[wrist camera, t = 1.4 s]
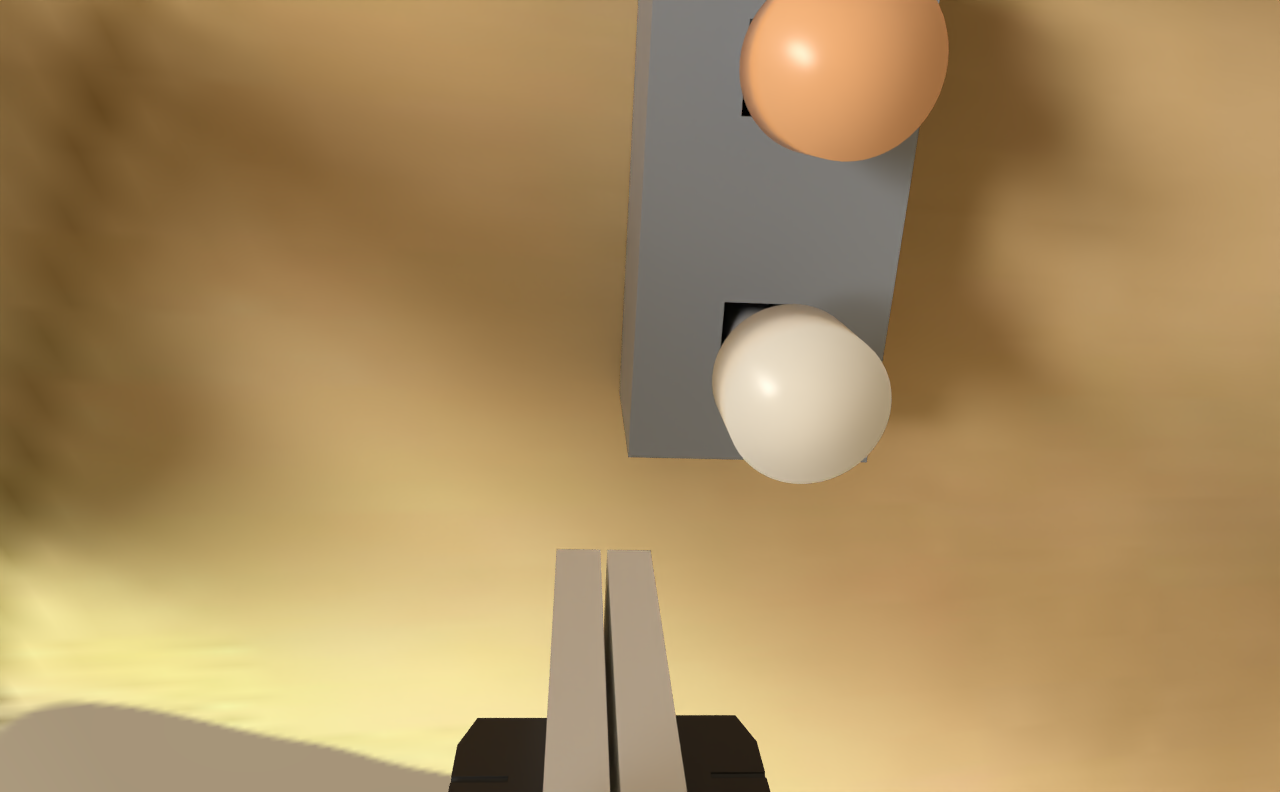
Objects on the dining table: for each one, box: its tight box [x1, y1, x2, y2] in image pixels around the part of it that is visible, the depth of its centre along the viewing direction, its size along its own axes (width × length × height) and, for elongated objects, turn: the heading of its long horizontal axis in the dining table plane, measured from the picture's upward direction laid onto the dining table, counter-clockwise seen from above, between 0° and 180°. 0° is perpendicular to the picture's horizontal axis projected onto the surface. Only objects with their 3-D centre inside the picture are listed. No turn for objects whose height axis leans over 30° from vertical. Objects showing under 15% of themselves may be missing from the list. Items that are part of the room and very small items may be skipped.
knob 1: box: [739, 0, 949, 162], centre depth 28 cm, size 5×5×11 cm
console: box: [619, 0, 940, 462], centre depth 35 cm, size 10×20×8 cm, turn 177°
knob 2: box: [712, 302, 892, 484], centre depth 31 cm, size 5×5×11 cm
